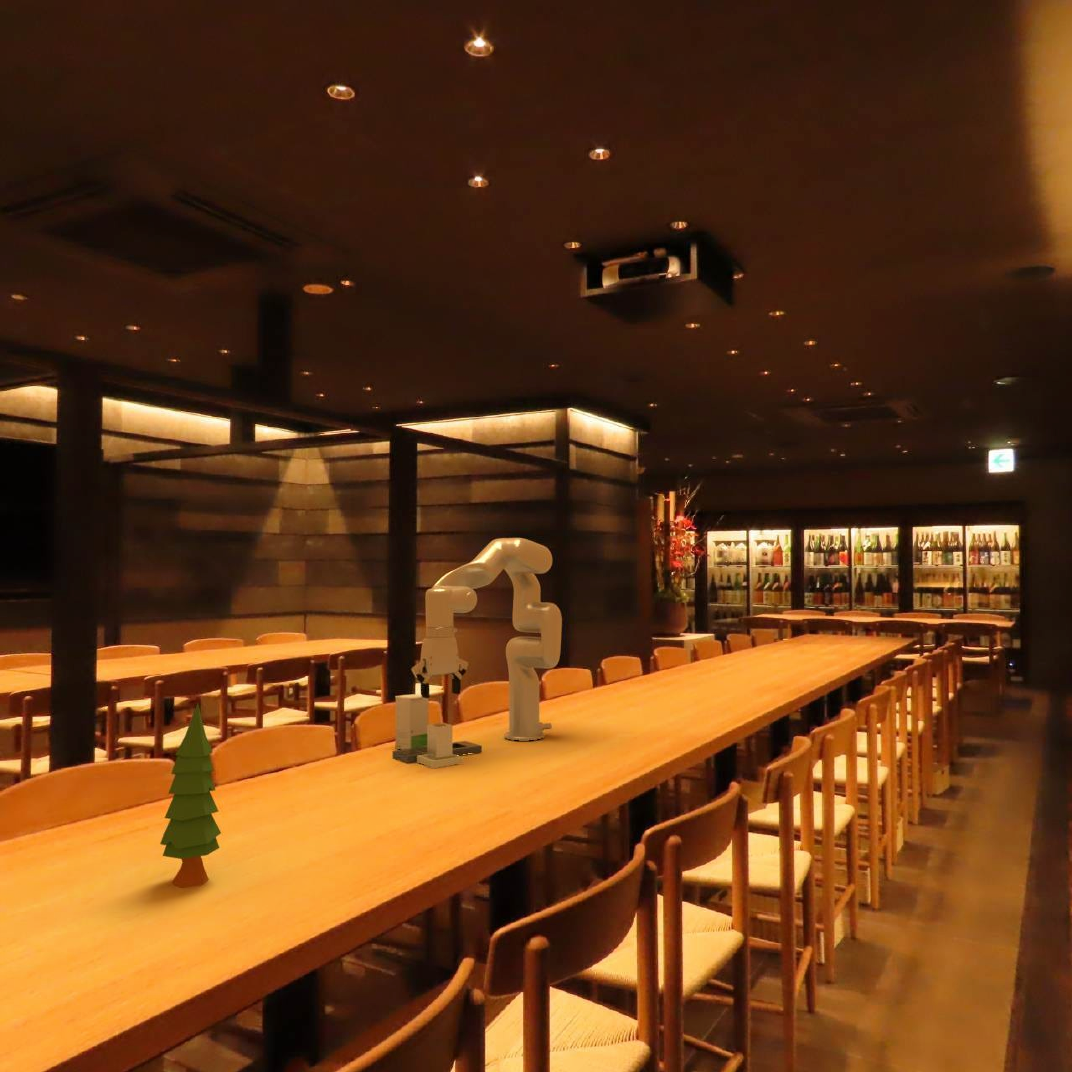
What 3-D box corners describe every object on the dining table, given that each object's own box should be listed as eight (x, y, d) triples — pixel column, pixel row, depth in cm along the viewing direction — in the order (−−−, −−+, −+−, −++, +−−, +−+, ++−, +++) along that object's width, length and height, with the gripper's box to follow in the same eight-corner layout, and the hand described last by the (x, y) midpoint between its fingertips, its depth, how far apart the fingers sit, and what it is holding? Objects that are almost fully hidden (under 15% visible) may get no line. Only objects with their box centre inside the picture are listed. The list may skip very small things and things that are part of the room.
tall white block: (443, 759, 248) (443, 721, 248) (452, 762, 243) (452, 724, 244) (427, 761, 245) (427, 723, 245) (436, 764, 241) (436, 726, 241)
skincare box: (409, 751, 259) (409, 697, 260) (393, 749, 263) (393, 696, 264) (429, 747, 266) (429, 694, 267) (413, 744, 270) (414, 692, 271)
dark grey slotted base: (465, 747, 265) (465, 740, 265) (481, 752, 258) (481, 745, 258) (392, 758, 251) (392, 750, 251) (407, 763, 244) (407, 755, 244)
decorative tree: (226, 872, 156) (228, 699, 158) (209, 891, 147) (211, 707, 148) (170, 872, 156) (172, 700, 157) (149, 892, 147) (151, 708, 148)
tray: (445, 758, 250) (445, 751, 250) (462, 764, 243) (462, 757, 243) (416, 762, 245) (416, 755, 245) (433, 768, 238) (433, 761, 238)
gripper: (459, 630, 254) (460, 690, 253) (405, 634, 243) (406, 697, 243) (473, 631, 247) (475, 693, 247) (418, 636, 237) (419, 701, 237)
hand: (441, 695), depth 245 cm, fingers open, 9 cm apart
